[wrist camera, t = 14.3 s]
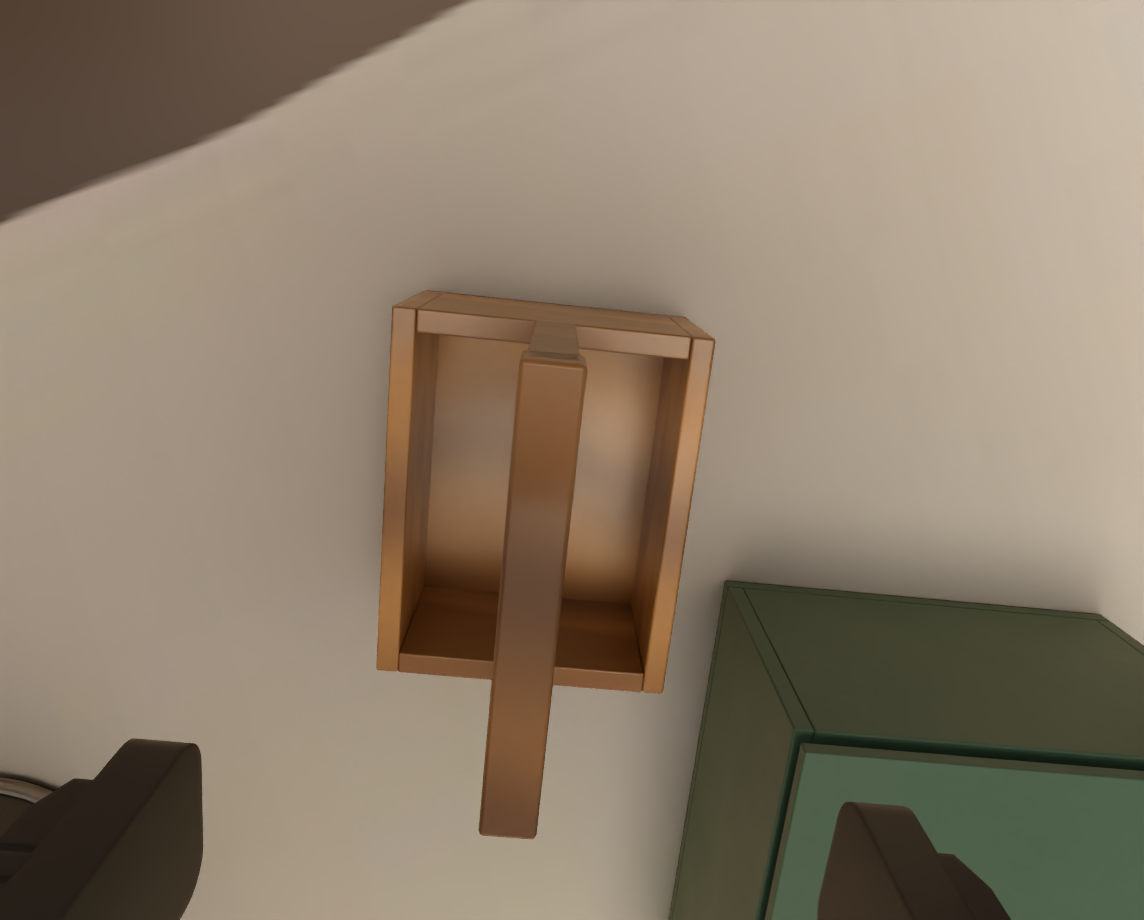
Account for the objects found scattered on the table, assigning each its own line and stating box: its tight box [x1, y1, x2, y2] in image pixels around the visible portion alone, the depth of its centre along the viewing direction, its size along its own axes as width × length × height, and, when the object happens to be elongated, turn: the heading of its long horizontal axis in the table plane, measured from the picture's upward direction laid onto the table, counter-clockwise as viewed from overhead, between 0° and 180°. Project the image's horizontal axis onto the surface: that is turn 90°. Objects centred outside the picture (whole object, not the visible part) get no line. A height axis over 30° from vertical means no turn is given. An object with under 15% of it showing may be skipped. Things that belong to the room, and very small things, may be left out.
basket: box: [376, 291, 715, 839], centre depth 21 cm, size 10×8×11 cm
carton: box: [669, 581, 1144, 920], centre depth 26 cm, size 15×13×9 cm
